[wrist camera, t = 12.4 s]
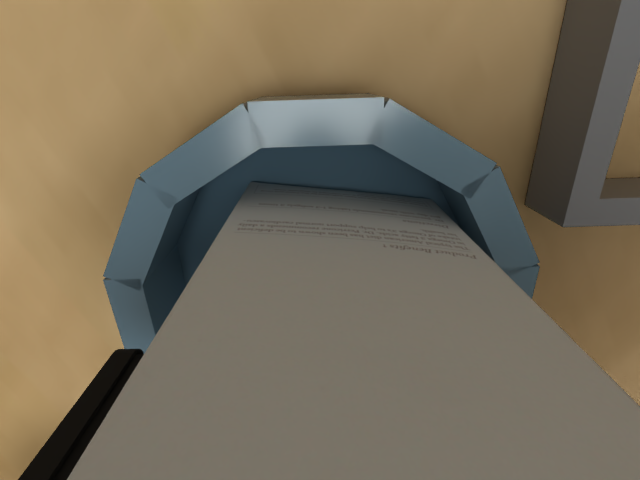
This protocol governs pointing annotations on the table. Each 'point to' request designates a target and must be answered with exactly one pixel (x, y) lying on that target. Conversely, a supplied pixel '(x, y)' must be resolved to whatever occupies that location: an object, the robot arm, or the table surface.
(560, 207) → the gray square frame
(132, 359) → the robot arm
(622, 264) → the table surface
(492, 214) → the bowl
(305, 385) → the supplement box
